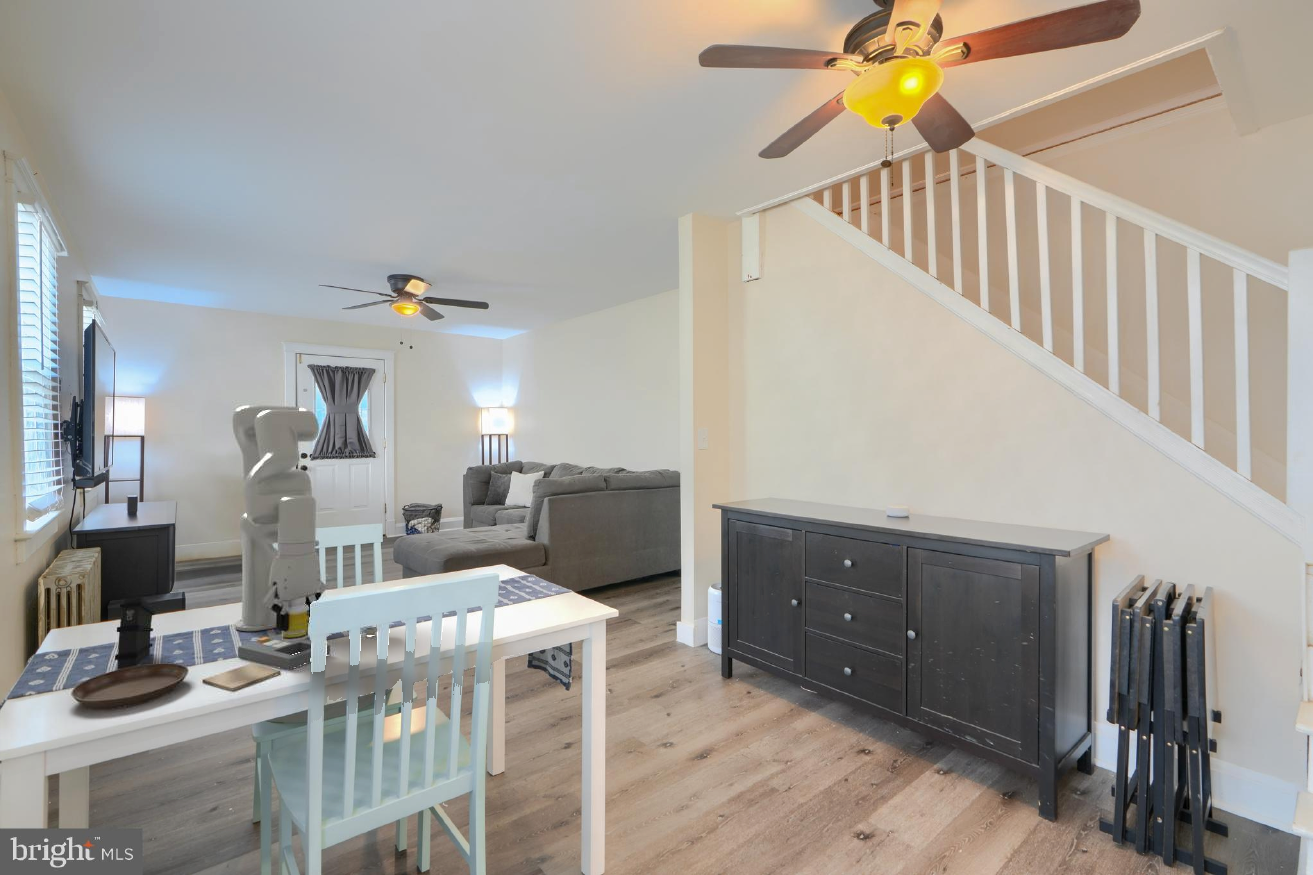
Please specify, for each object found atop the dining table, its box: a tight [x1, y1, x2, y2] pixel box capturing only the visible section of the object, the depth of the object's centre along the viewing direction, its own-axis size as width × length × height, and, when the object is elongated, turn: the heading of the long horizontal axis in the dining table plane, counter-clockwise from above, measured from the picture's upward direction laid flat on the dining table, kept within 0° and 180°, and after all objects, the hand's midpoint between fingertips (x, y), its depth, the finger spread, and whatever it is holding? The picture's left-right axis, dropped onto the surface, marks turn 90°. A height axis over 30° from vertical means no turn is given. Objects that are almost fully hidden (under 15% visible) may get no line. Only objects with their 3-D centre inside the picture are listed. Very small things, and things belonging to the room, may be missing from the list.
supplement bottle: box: [281, 596, 310, 642], centre depth 140 cm, size 5×5×10 cm
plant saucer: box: [70, 662, 189, 710], centre depth 120 cm, size 18×18×3 cm
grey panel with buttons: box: [237, 633, 331, 671], centre depth 141 cm, size 10×18×3 cm, turn 66°
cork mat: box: [201, 663, 281, 692], centre depth 128 cm, size 10×10×1 cm
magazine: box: [114, 596, 156, 670], centre depth 137 cm, size 4×13×15 cm, turn 26°
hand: (295, 625), depth 140 cm, fingers closed on supplement bottle, 5 cm apart
